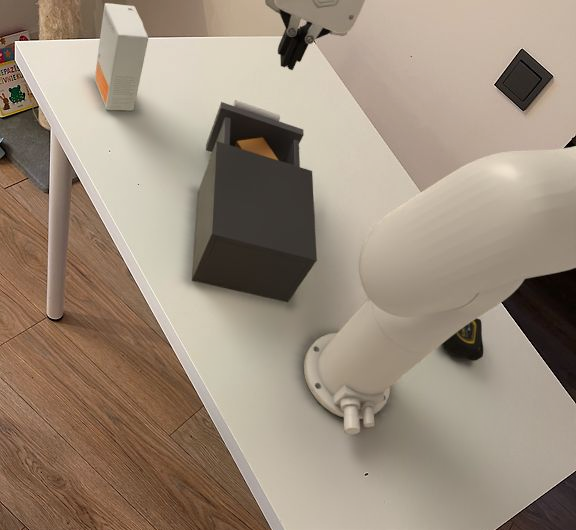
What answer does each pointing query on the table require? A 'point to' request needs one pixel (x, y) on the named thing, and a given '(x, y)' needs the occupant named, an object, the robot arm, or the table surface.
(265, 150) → the block
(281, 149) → the dark grey box
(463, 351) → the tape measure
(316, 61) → the table surface
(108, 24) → the cosmetic box
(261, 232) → the drawer cabinet
